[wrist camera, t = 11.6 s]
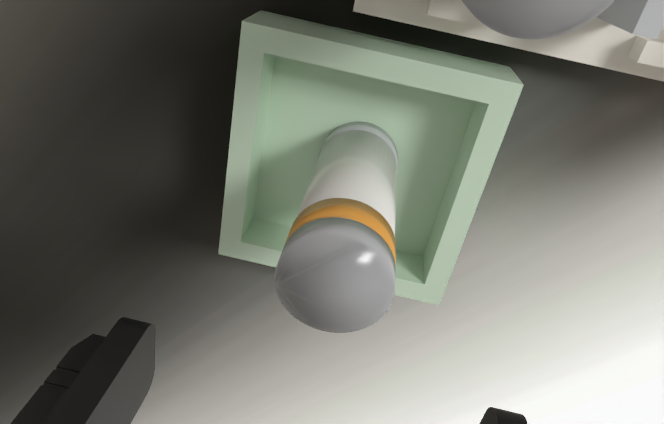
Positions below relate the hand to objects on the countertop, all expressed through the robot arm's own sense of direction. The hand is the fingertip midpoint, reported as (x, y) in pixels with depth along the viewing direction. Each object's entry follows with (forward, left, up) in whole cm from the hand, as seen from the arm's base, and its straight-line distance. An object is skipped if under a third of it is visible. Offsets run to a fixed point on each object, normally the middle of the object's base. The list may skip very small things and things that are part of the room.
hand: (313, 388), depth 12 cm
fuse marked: (0, 0, -14) cm, 14 cm away
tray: (0, 0, -15) cm, 15 cm away
